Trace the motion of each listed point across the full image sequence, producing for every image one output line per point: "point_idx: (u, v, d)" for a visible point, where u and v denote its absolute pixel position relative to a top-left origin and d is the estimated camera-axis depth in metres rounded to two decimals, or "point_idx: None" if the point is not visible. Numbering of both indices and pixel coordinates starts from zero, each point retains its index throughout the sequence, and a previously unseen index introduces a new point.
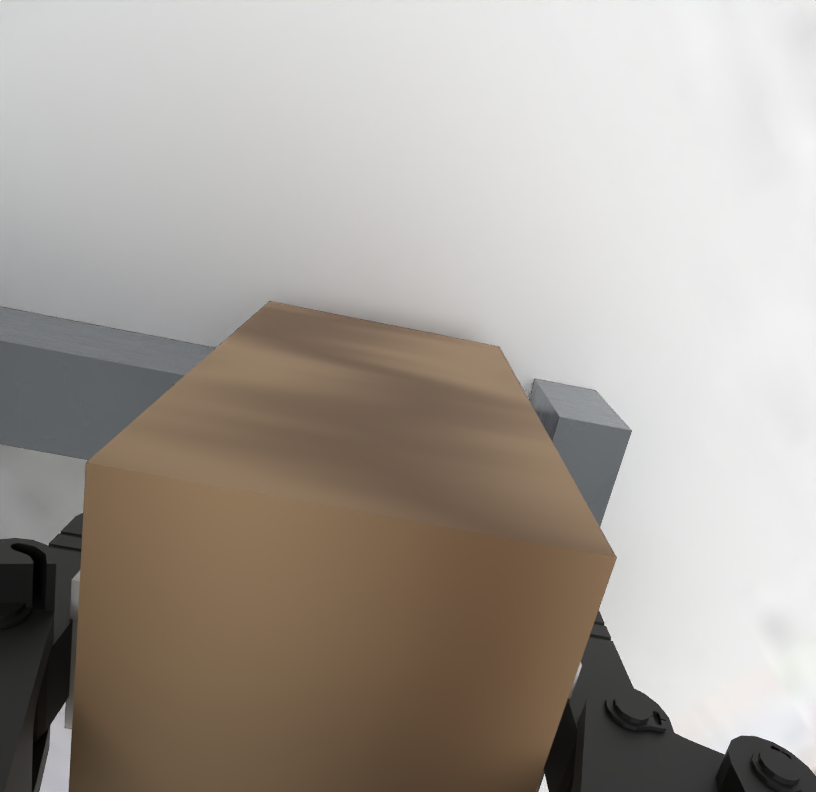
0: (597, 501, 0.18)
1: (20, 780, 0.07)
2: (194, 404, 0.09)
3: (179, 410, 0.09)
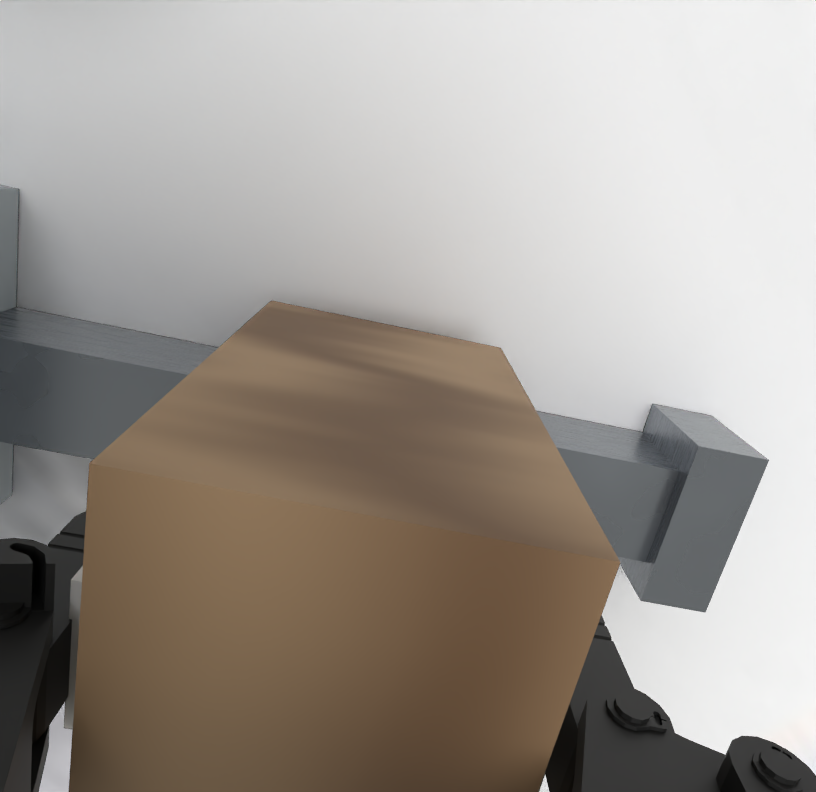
0: (729, 528, 0.18)
1: (19, 780, 0.07)
2: (197, 405, 0.09)
3: (182, 411, 0.09)
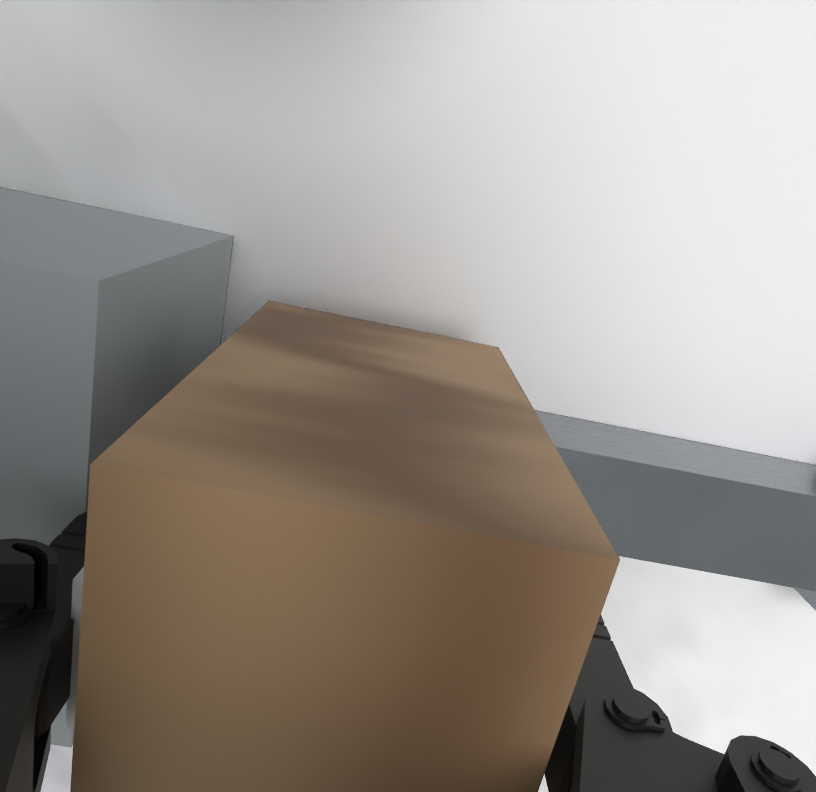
0: None
1: (21, 780, 0.07)
2: (196, 405, 0.09)
3: (181, 411, 0.09)
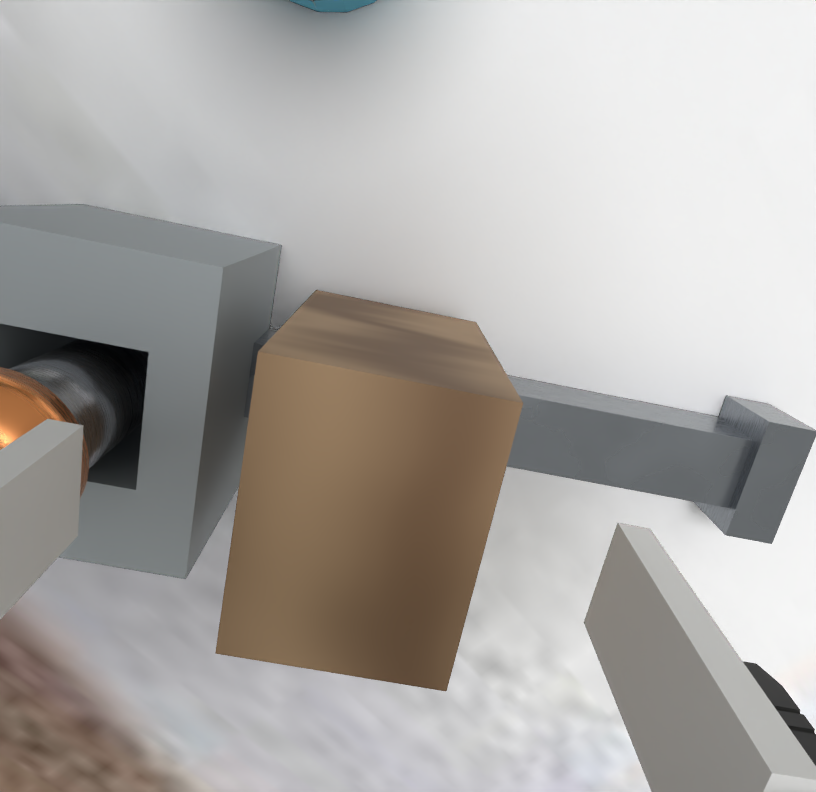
0: (789, 481, 0.26)
1: None
2: (296, 335, 0.16)
3: (289, 337, 0.16)
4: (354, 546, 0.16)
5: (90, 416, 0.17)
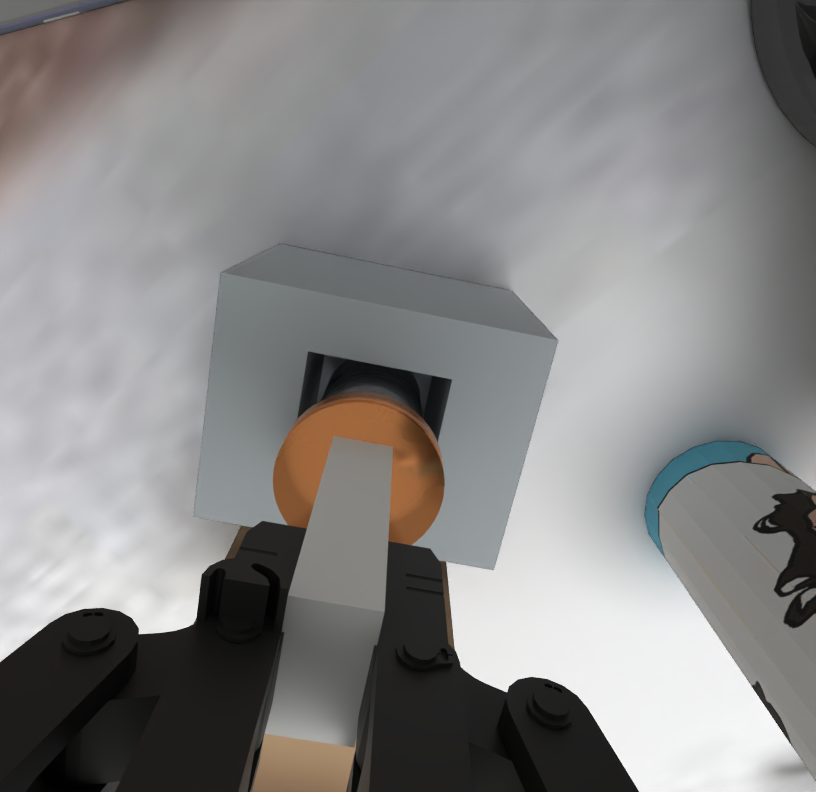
0: None
1: None
2: None
3: None
4: (292, 767, 0.19)
5: None
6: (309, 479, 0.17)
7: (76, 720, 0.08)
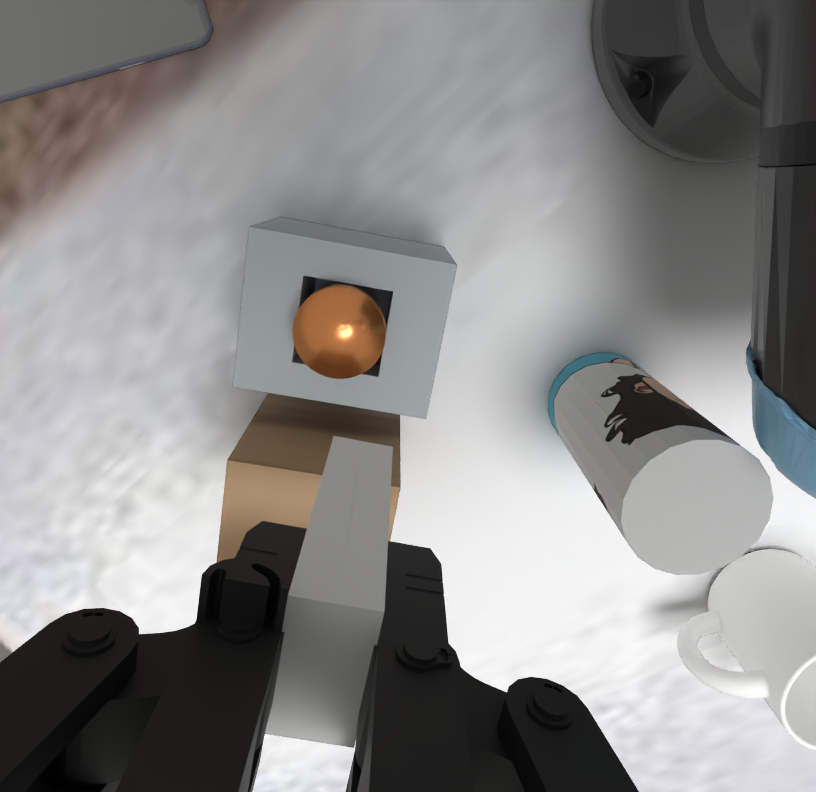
0: None
1: None
2: None
3: None
4: None
5: None
6: (312, 331, 0.31)
7: (76, 720, 0.08)
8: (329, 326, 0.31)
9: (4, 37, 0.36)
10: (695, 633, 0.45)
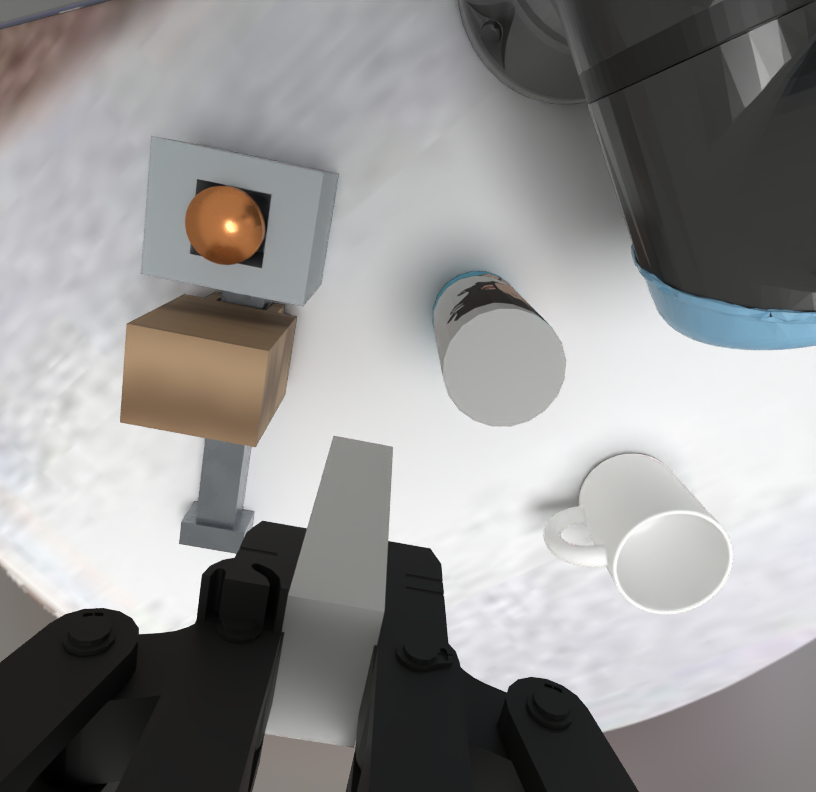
0: (214, 546, 0.52)
1: None
2: (275, 349, 0.39)
3: (274, 349, 0.39)
4: (187, 385, 0.38)
5: None
6: (201, 223, 0.38)
7: (77, 720, 0.08)
8: (214, 219, 0.38)
9: None
10: (560, 522, 0.51)
